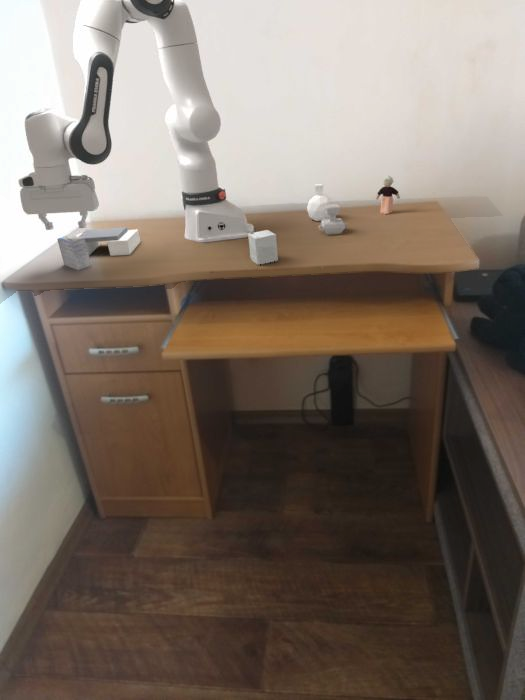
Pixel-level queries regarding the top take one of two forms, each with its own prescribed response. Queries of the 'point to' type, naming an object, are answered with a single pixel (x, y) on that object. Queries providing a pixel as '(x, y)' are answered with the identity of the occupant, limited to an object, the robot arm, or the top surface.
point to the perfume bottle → (319, 204)
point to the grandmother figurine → (387, 195)
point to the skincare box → (263, 247)
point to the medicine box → (74, 252)
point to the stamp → (332, 221)
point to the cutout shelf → (112, 240)
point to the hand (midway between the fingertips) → (66, 228)
